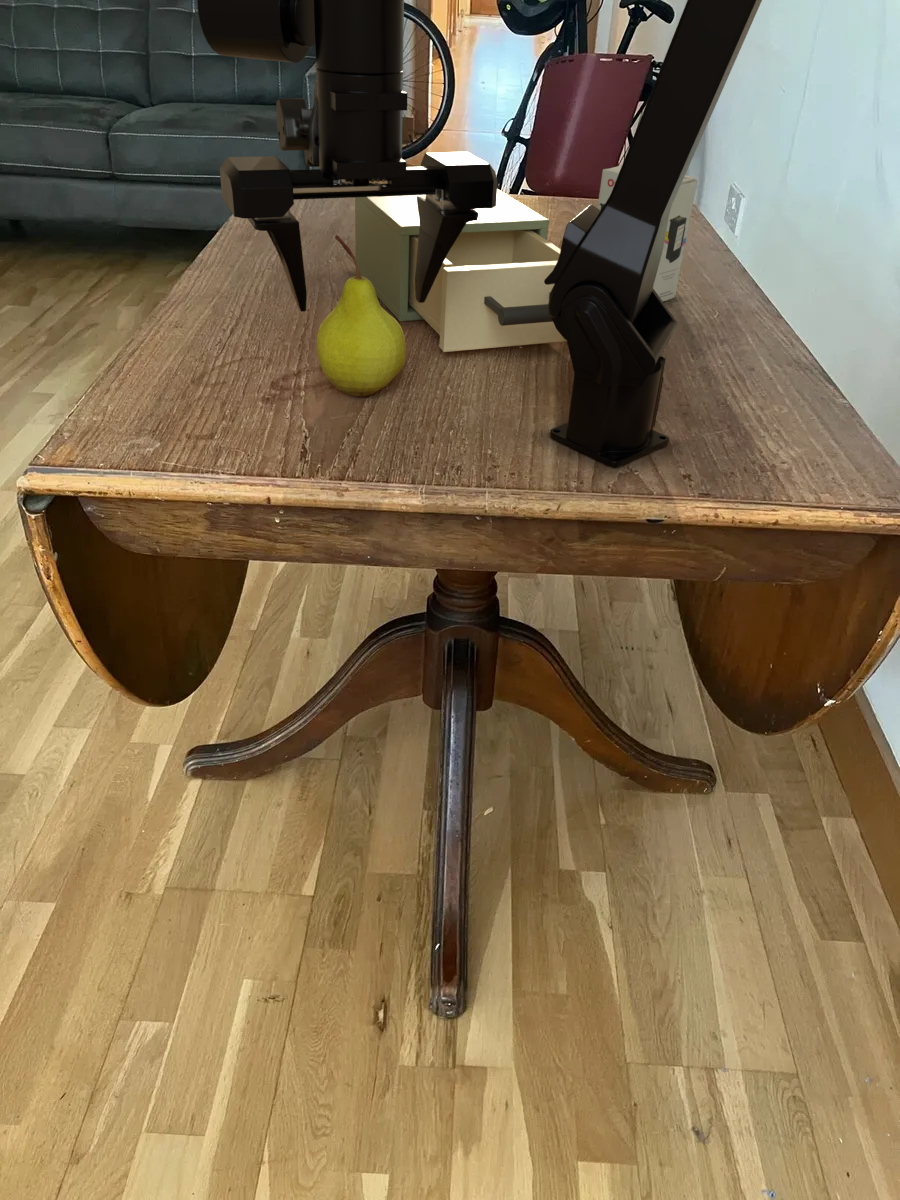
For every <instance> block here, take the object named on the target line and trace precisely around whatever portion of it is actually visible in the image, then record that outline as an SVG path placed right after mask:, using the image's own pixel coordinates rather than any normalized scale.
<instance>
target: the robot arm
mask: <svg viewBox="0 0 900 1200" xmlns="http://www.w3.org/2000/svg"><path fill="white" fill-rule="evenodd" d="M762 1H763V0H686V3H685V5H684V8H683V11H682V13H681V16H680V18H679V20H678V23H677V26H676V28H675V31H674V33H673V35H672V38H671V40H670V43H669V45H668V49H667V51H666V53H665V55H664V59H663V61H662V64H661V66H660V69H659V71H658V74H657V76H656V79H655V82H654V84H653V86H652V89H651V92H650V94H649V96H648V99H647V101H646V104H645V107H644V109H643V112H642V114H641V116H640V119H639V121H638V124H637V126H636V129H635V132H634V133H633V137H632V139H631V142H630V144H629V147H628V149H627V152H626V155H625V156H624V160H623V162H622V167H621V170H620V172H619V175H618V177H617V180H616V182H615V185H614V187H613V190H612V192H611V195H610V197H609V198H608V200H607V202H606V203H605V205H604V206H603V208H602V209H601V210H599V209H598V208H597V206H595V205H593V204H592V203H591V204H589V205H588V206H586V207H585V208H584V209H583V210H581V211H580V212H579V213H578V214H577V215H576V216H574V217H573V218H572V219H571V220H570V221H568V222H567V224H566V226H565V229H564V234H563V236H562V241H561V246H560V249H561V251H560V255H559V259H558V262H557V264H556V266H555V267H554V269H553V271H552V272H551V273H550V274H549V276H548V277H547V278H546V279H545V280H544V283H545V284H546V285H549V284H554V286H553V288H552V290H551V293H550V298H549V303H548V306H549V315H550V316H551V318H552V320H553V322H554V325H555V327H556V329H557V330H558V332H559V333H560V334H561V335H562V336H563V338H564V339H565V340H567V341H566V344H567V348H568V352H569V357H570V361H571V366H572V370H573V380H572V385H571V395H570V401H569V402H570V403H569V410H568V418H567V423H563V424H561V425H558V426H556V427H552V428H551V429H549V437H550V438H551V439H553V440H555V441H556V442H559V443H561V444H563V445H565V446H567V447H570V448H572V449H574V450H575V451H577V452H580V453H582V454H584V455H586V456H589V457H590V458H592V459H594V460H597V461H599V462H600V463H602V464H605V465H607V466H609V467H612V468H617V467H618V468H619V467H621V466H624V465H626V464H627V463H631V462H633V461H635V460H637V459H639V458H641V457H644V456H647V455H648V454H650V453H653V452H655V451H657V450H659V449H662V448H664V447H666V446H668V445H669V442H670V437H669V436H667V435H665V434H664V433H660V432H659V431H656V430H654V428H655V426H656V422H657V416H658V409H659V404H660V400H661V394H662V390H663V385H664V384H663V383H664V371H665V368H666V362H667V358H666V357H664V356H662V354H663V351H664V350H665V348H666V346H667V345H668V342H669V341H670V339H671V337H672V336H673V334H674V332H675V331H676V329H677V327H678V321H677V319H676V318H675V316H674V315H673V313H672V312H671V310H669V308H668V306H667V305H666V304H665V302H664V301H662V300H661V298H660V297H659V296H658V294H657V293H656V292H655V290H654V289H653V286H654V282H655V278H656V274H657V270H658V267H659V263H660V259H661V255H662V251H663V246H664V240H665V235H666V229H667V224H668V218H669V214H670V210H671V206H672V204H673V201H674V199H675V197H676V195H677V192H678V190H679V188H680V185H681V183H682V181H683V179H684V176H685V175H687V172H688V169H689V167H690V165H691V163H692V160H693V158H694V156H695V154H696V152H697V149H698V147H699V145H700V142H701V140H702V137H703V135H704V133H705V131H706V129H707V126H708V124H709V122H710V119H711V117H712V115H713V113H714V110H715V109H716V106H717V103H718V101H719V99H720V96H721V95H722V92H723V90H724V89H725V85H726V84H727V81H728V78H729V76H730V74H731V72H732V69H733V68H734V65H735V63H736V61H737V58H738V56H739V54H740V51H741V50H742V47H743V44H744V42H745V40H746V38H747V35H748V33H749V31H750V29H751V26H752V24H753V22H754V19H755V17H756V15H757V13H758V10H759V8H760V6H761V5H762ZM196 3H197V13H198V18H199V24H200V27H201V31H202V34H203V36H204V38H205V40H206V43H207V44H208V46H209V47H210V48H211V50H212V51H213V52H215V53H216V54H217V55H220V56H223V57H232V58H233V57H234V58H242V59H253V60H263V61H272V62H283V63H293V64H297V63H300V62H301V61H303V60H304V59H305V58H306V56H307V54H308V53H309V51H310V48H312V47H315V78H316V79H315V80H314V83H313V84H314V89H313V105H312V108H307V103H306V100H305V99H304V98H300V97H298V98H296V97H293V98H291V97H290V98H289V97H288V98H286V97H285V98H283V97H282V98H278V100H277V101H276V102H275V103H276V105H275V106H276V128H277V138H278V145H279V148H280V150H281V151H284V152H287V151H303V153H304V159H305V166H306V167H309V168H310V167H311V168H315V169H290V168H289V167H288V166H287V165H286V164H285V163H284V162H283V161H282V160H281V159H280V158H279V157H278V156H277V155H268V156H267V155H266V156H227V157H226V158H225V160H224V161H223V163H222V164H221V165H220V170H219V177H220V187H221V188H220V189H221V198H222V200H223V202H224V204H225V205H226V207H227V208H228V209H229V211H230V213H231V214H232V215H233V217H234V218H239V219H247V220H248V222H249V223H250V224H251V225H252V228H254V230H256V231H260V232H267V234H268V236H269V238H270V240H271V242H272V244H273V246H274V248H275V250H276V252H277V255H278V257H279V260H280V263H281V266H282V269H283V271H284V273H285V276H286V279H287V282H288V284H289V287H290V289H291V293H292V295H293V297H294V300H295V303H296V306H297V309H298V310H299V311H300V312H301V313H302V312H306V311H307V301H308V300H307V298H308V294H307V283H306V274H305V273H306V272H305V264H304V255H303V247H302V238H301V237H302V236H301V229H300V228H301V227H300V222H299V220H298V219H297V218H296V217H295V216H294V215H293V213H292V212H291V208H292V207H293V206H294V204H295V200H321V199H323V200H325V199H348V198H352V199H353V198H355V197H380V196H408V195H426V196H417V205H418V213H419V222H420V227H419V238H418V250H417V261H416V273H415V296H416V300H417V301H418V302H419V303H424V302H425V300H426V298H427V296H428V294H429V292H430V290H431V287H432V285H433V283H434V281H435V279H436V277H437V275H438V273H439V270H440V268H441V266H442V263H443V262H444V260H445V258H446V256H447V254H448V253H449V251H450V249H451V248H452V246H453V244H454V243H455V241H456V239H457V238H458V236H459V235H460V233H461V231H462V230H463V228H464V226H465V225H466V223H467V222H469V221H476V220H478V216H479V213H478V212H477V211H476V210H474V209H483V208H493V207H495V206H496V200H497V189H498V183H499V182H498V177H497V174H496V173H497V172H496V170H495V169H494V168H493V166H492V165H491V164H490V163H489V162H487V161H485V160H484V159H481V158H480V157H478V156H476V155H475V154H473V153H471V152H469V151H447V152H444V151H442V152H441V151H440V152H424V155H423V157H422V159H421V162H420V166H407V160H405V159H403V111H408V92H406V91H404V32H405V31H404V29H405V27H404V25H405V21H404V20H405V0H196ZM334 181H341V182H342V183H341V184H340V183H336V184H334ZM380 182H382V183H380ZM384 182H386V183H384Z"/></svg>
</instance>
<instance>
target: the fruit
mask: <svg viewBox="0 0 900 1200" xmlns="http://www.w3.org/2000/svg"><path fill="white" fill-rule="evenodd" d="M334 239H335V240H336V241H338V243H340V245H341V247H342V248H343V249H344V251H345V252H346V253H347V254H348V255H349V256H350V258H351V259H352V261H353V264H354V266H355V275H354V276H351V277H349V278H348V279H346V282H345V283H344V285H343V289H342V291H341V295H340V298H339V300H338V302H337V304H336V305H335V307H334V308H333V310H332V311H331V312H330V313H329V314H328V315H327V316H326V317H325V318H324V319H323V321H322V322H321V324H320V326H319V328H318V332H317V335H316V353H317V358H318V363H319V366H320V368H321V370H322V373H323V374H324V376H325V377H326V378H327V380H328V381H329V382H330V383H331V384H332V385H333V386H334V387H335V388H336V389H338V390H339V391H341V392H343V394H345V395H348V396H352V397H358V398H364V397H368V396H371V395H373V394H375V393H377V392H378V391H380V390H382V389H384V388H385V387H387V386H388V385H389V384H390V382H392V381H393V379H394V378H396V377H397V375H398V374H399V373H400V371H402V369H403V367H404V365H405V362H406V358H407V345H406V338H405V333H404V331H403V329H402V326H401V324H400V323H399V321H398V320H396V319H397V318H395V317H393V315H391V314H390V313H389V312H388V311H386V310H385V309H384V308H383V307H382V306H381V304H380V302H379V298H378V297H377V295H376V292H375V288H374V287H373V285H372V283H371V282H370V281H369V280H368V279H367V278H365V277H362V276H360V271H359V268H358V265H357V262H356V256H355V255H354V253H353V252H352V250H351V249H350V247H349V246H348V245H347V244H346V243H345V242H344V240H343V239H342V238H341V236H339V235H338V234H336V235H335V236H334Z"/></svg>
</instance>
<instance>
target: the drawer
mask: <svg viewBox="0 0 900 1200" xmlns="http://www.w3.org/2000/svg"><path fill="white" fill-rule="evenodd" d="M418 238H419V235H409V268H408V303H409V304H410V305H411V306H412V307H413V308H414V309H415V310H416V311H417V312H418V313H419V314H420V315H421V316H422V317H423V318H424V319H423V320H424V321H425V322H426V323H427V324H428V325H430V327H431V328H432V329H433V330H434V331H435V332H436V334H438V335H439V344H438V345H439V346H438V347H439V349H440V350H441V351H442V352H443V353H448V352H459V351H472V350H483V349H494V348H505V347H506V348H507V347H516V346H517V347H518V346H528V345H539V344H540V345H541V344H552V343H561V342H562V343H563V342H567V340H565V339H564V338H563V336H562V335H561V334H560V333H559V332H558V330H557V329H556V327H555V325H554V322H553V320H552V318H551V316H550V315H549V306H548V303H549V298H550V293H551V290H552V288H553V286H554V284H549V285H546V284H545V283H544V280H545V279H546V278H547V277H548V276H549V274H550V273H551V272H552V271H553V269H554V267H555V266H556V264H557V262H558V259H559V255H560V251H561V247H560V248H559V247H558V246H557V245H555V244H553V243H552V242H550V241H549V240H548V239H547V240H546V239H544V238H543V237H541V236H539V235H538V234H536V233H535V232H533V231H532V230H509V231H488V232H468V233H460V235H459V236H458V238H457V239H456V241H455V243H454V244H453V246H452V248H451V249H450V251H449V253H448V254H447V256H446V258H445V260H444V262H443V263H442V266H441V268H440V270H439V273H438V275H437V277H436V279H435V281H434V283H433V285H432V287H431V290H430V292H429V294H428V296H427V298H426V300H425V302H424V303H419V302H418V301H417V300H416V296H415V273H416V261H417V250H418Z"/></svg>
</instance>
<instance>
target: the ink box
mask: <svg viewBox="0 0 900 1200" xmlns="http://www.w3.org/2000/svg"><path fill="white" fill-rule="evenodd" d="M621 167H622V165H617V166H613V167H610V168H609V167H608V168H603V169H602V172H601V180H600V186H599V193H598V201H597V206H596V208H598V209H599V210H601V209H602V208H603V206H604V205H605V203H606V202H607V200H608V198H609V197H610V195H611V192H612V190H613V187H614V185H615V182H616V180H617V177H618V175H619V172H620V170H621ZM697 185H698V179H696V178H695V177H694V176H692V175H688V174H685V176H684V179H683V181H682V183H681V185H680V188H679V190H678V192H677V195H676V197H675V199H674V201H673V204H672V206H671V210H670V214H669V218H668V224H667V229H666V235H665V240H664V246H663V251H662V255H661V259H660V263H659V267H658V270H657V274H656V278H655V282H654V286H653V289H654V290H655V292H656V293H657V294H658V296H659V297H660V298H661V300H662V301H663V302H667V301H669V300H671V299H674V298H676V294H677V290H678V288H677V287H678V285H679V278H680V274H681V268H682V264H683V258H684V253H685V247H686V243H687V237H688V232H689V228H690V222H691V217H692V211H693V207H694V201H695V196H696V190H697Z"/></svg>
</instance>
